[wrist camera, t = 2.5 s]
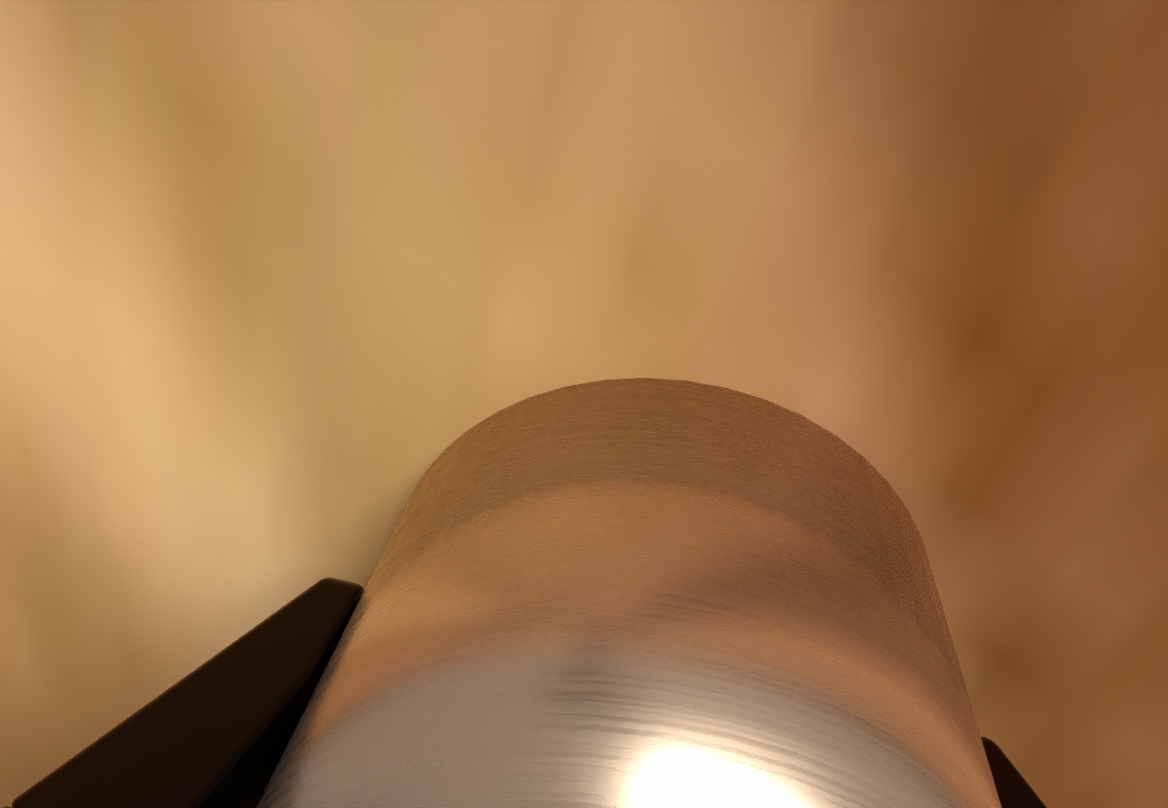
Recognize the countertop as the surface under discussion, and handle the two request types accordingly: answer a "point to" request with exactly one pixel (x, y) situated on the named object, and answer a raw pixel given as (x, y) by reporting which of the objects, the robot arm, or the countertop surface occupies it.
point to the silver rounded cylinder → (644, 624)
